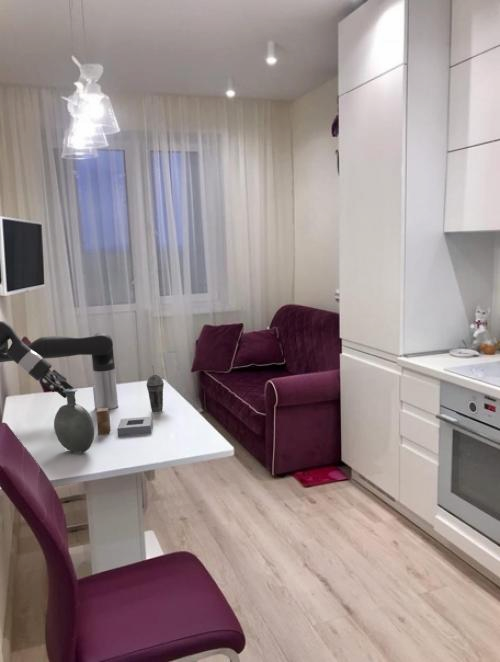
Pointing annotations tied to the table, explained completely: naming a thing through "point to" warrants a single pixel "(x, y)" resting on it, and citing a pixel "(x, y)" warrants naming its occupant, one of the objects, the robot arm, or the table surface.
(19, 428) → the table surface
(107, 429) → the peg
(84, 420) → the flask
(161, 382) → the beverage cup
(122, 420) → the socket
